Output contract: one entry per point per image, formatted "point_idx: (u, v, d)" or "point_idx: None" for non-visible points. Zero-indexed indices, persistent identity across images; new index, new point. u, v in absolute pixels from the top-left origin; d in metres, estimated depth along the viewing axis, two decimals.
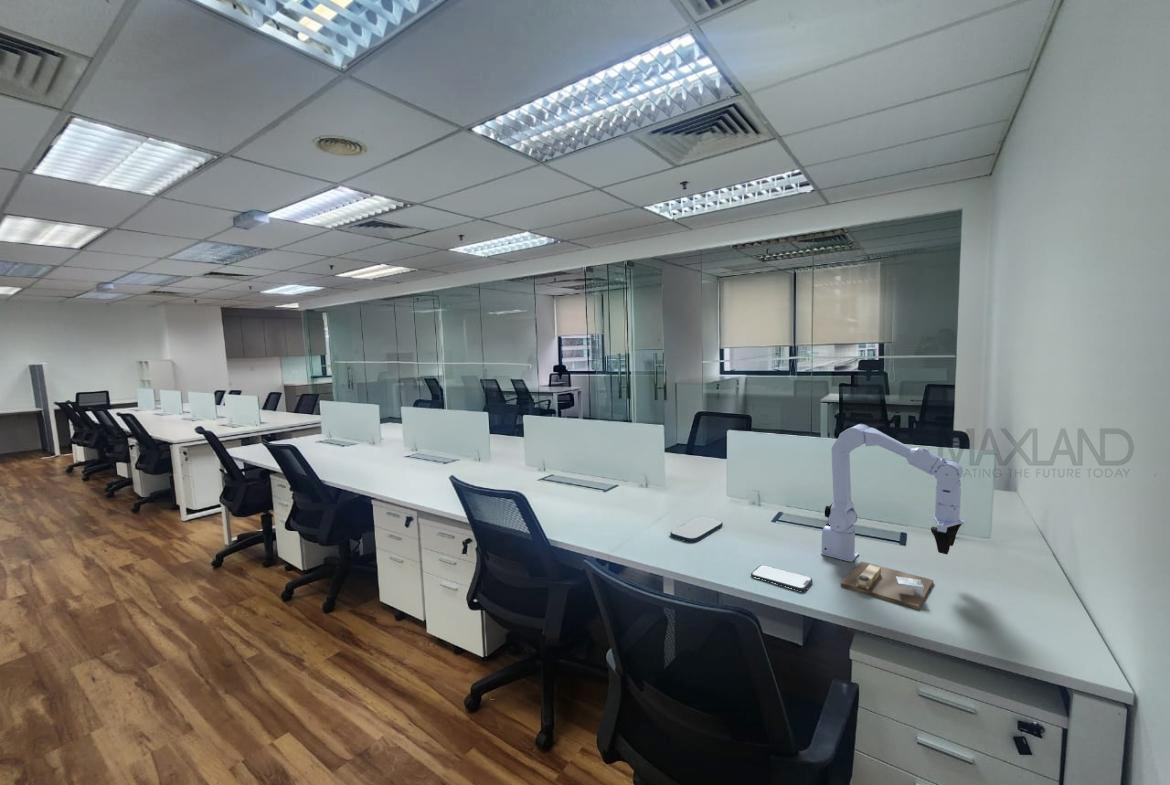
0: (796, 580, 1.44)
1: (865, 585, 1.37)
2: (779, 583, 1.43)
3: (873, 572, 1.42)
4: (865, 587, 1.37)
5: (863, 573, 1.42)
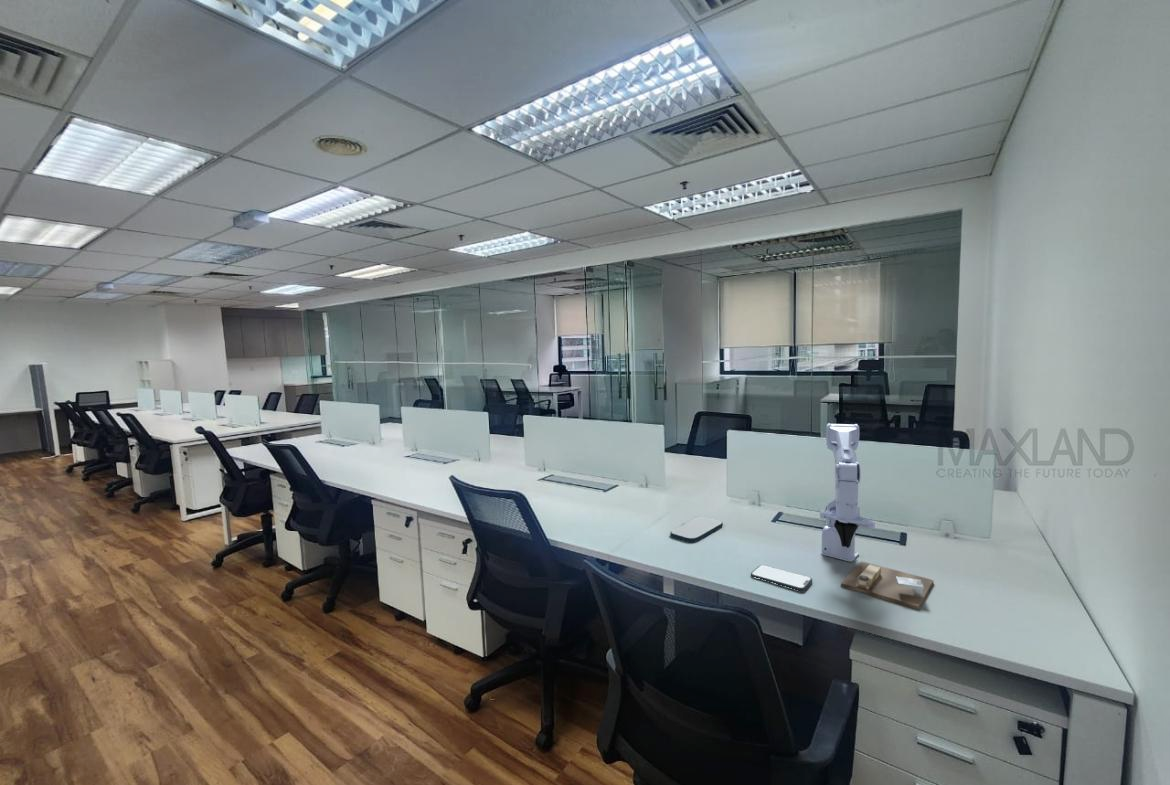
0: (796, 580, 1.44)
1: (865, 585, 1.37)
2: (779, 583, 1.43)
3: (873, 572, 1.42)
4: (865, 587, 1.37)
5: (863, 573, 1.42)
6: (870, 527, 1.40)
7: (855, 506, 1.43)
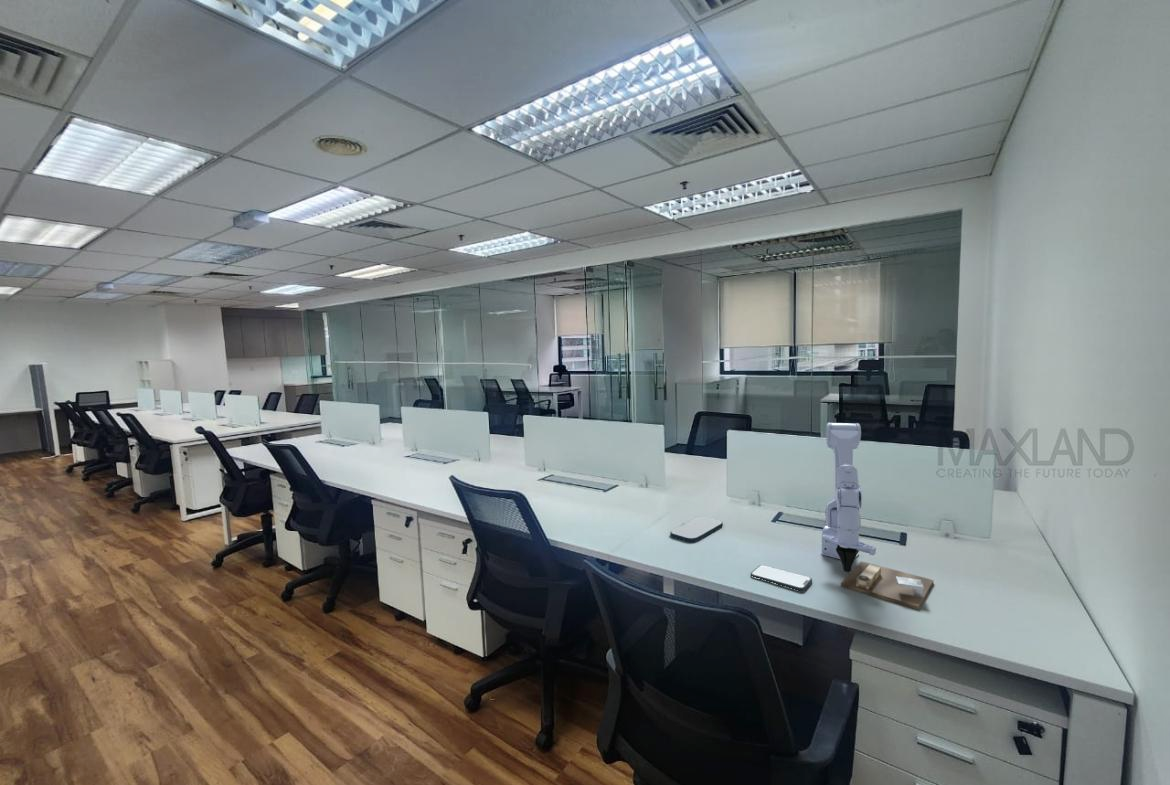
0: (796, 580, 1.44)
1: (865, 585, 1.37)
2: (779, 583, 1.43)
3: (873, 572, 1.42)
4: (865, 587, 1.37)
5: (863, 573, 1.42)
6: (871, 553, 1.41)
7: (856, 531, 1.43)
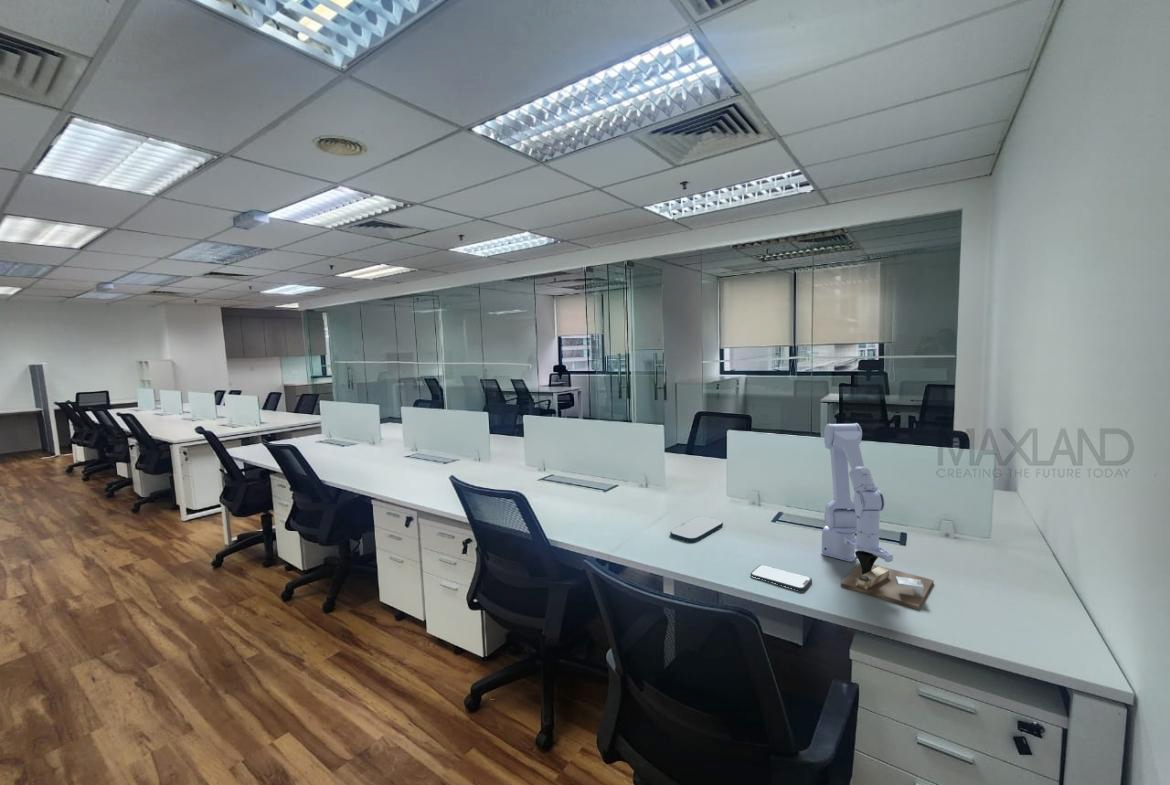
0: (795, 580, 1.44)
1: (863, 584, 1.37)
2: (778, 583, 1.43)
3: (877, 574, 1.41)
4: (863, 587, 1.37)
5: (866, 574, 1.41)
6: (885, 559, 1.36)
7: (873, 536, 1.40)
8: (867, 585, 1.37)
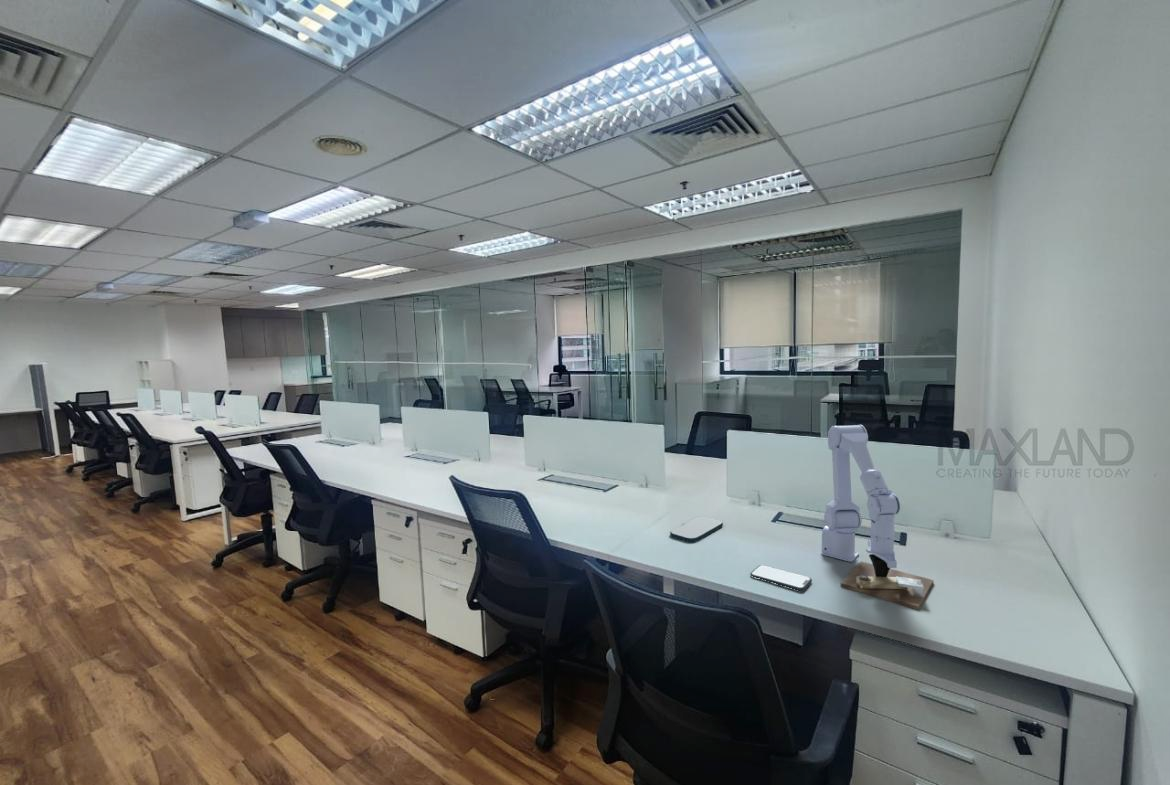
0: (795, 580, 1.44)
1: (859, 583, 1.38)
2: (778, 583, 1.43)
3: (887, 580, 1.37)
4: (859, 585, 1.38)
5: (874, 577, 1.39)
6: (887, 565, 1.33)
7: (882, 540, 1.37)
8: (862, 584, 1.37)
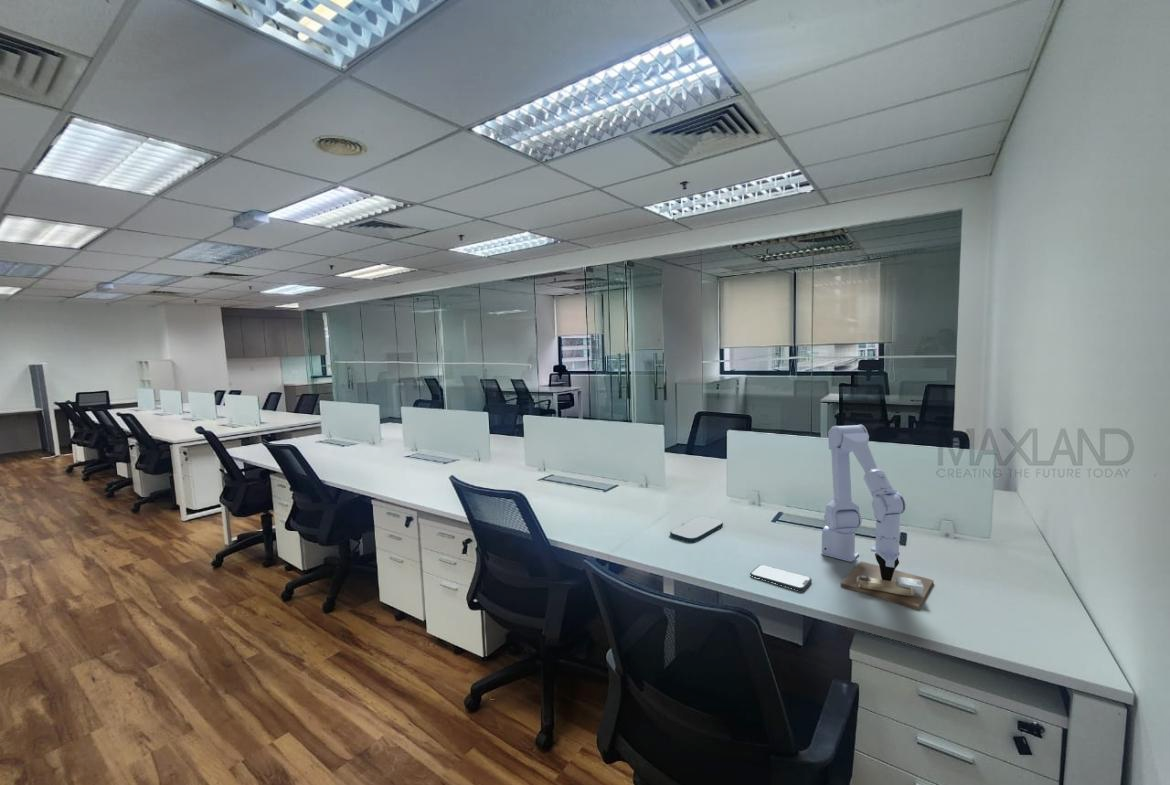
0: (795, 580, 1.44)
1: (857, 582, 1.39)
2: (778, 583, 1.43)
3: (887, 584, 1.35)
4: (857, 584, 1.39)
5: (877, 579, 1.38)
6: (885, 563, 1.34)
7: (884, 539, 1.37)
8: (859, 583, 1.38)
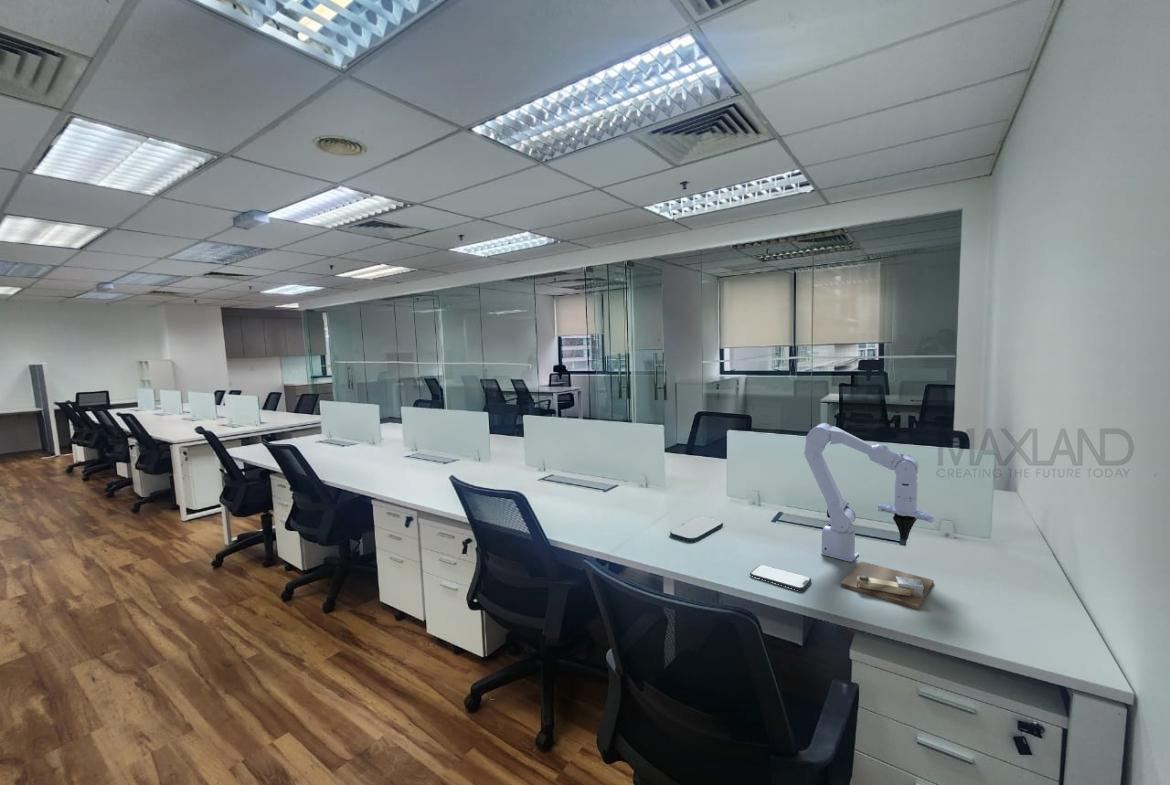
0: (795, 580, 1.44)
1: (857, 582, 1.39)
2: (778, 583, 1.43)
3: (887, 584, 1.35)
4: (857, 584, 1.39)
5: (877, 579, 1.38)
6: (929, 520, 1.44)
7: (914, 500, 1.46)
8: (859, 583, 1.38)
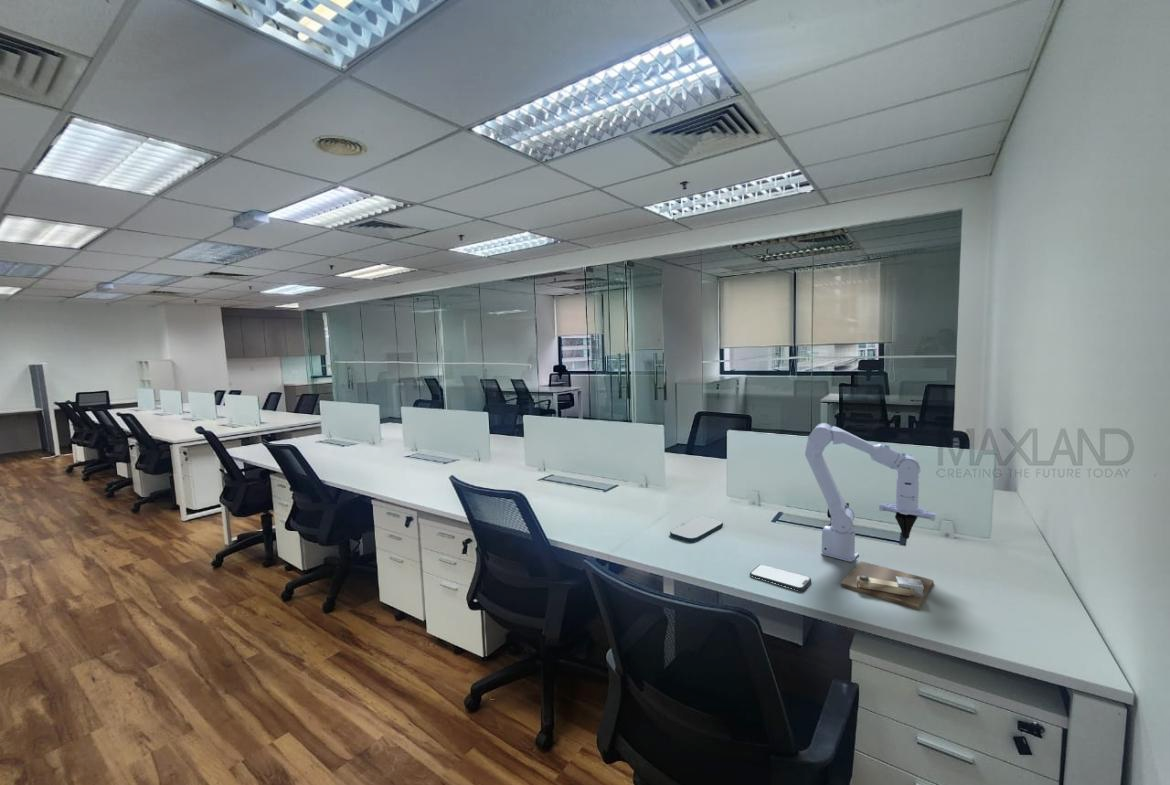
0: (795, 580, 1.44)
1: (857, 582, 1.39)
2: (778, 583, 1.43)
3: (887, 584, 1.35)
4: (857, 584, 1.39)
5: (877, 579, 1.38)
6: (932, 519, 1.45)
7: (916, 498, 1.48)
8: (859, 583, 1.38)
